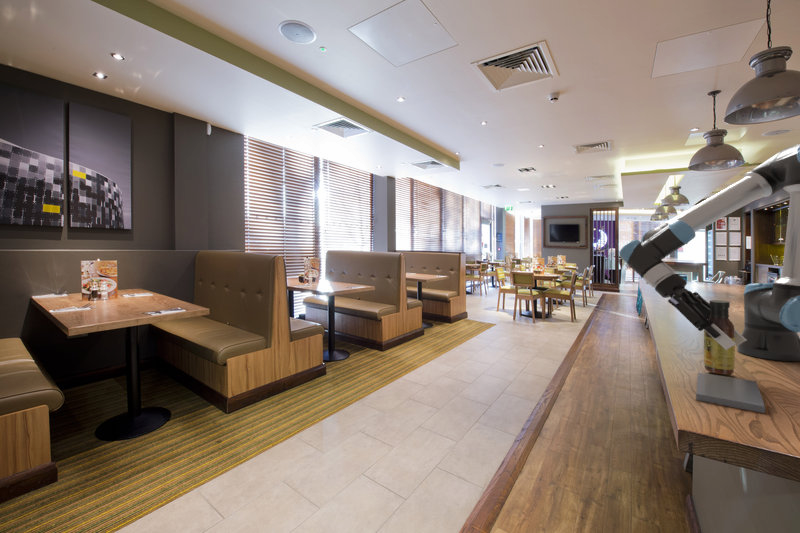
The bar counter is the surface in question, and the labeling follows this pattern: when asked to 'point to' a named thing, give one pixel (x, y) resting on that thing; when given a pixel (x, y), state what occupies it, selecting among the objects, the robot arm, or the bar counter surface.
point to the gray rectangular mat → (729, 392)
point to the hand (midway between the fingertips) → (736, 344)
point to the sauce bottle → (713, 351)
